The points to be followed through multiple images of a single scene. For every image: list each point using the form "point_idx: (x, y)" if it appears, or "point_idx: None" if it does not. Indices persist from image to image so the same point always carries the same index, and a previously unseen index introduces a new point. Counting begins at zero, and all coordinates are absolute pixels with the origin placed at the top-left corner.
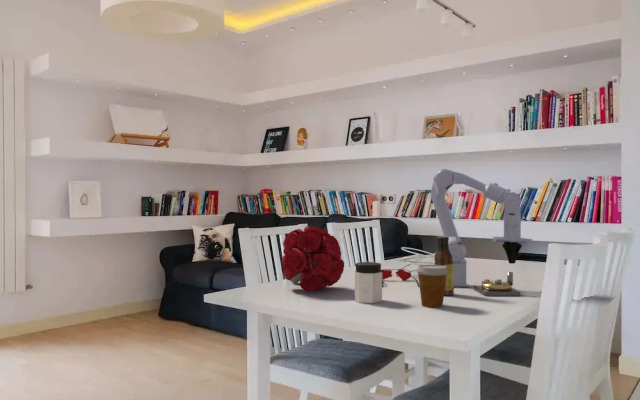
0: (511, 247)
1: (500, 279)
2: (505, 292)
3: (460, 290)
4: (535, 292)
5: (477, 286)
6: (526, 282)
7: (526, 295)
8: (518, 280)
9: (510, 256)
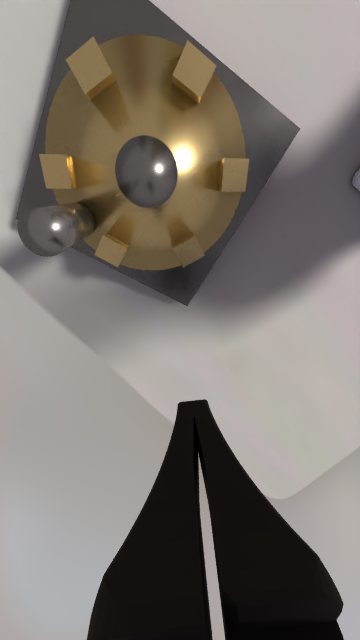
0: (149, 559)
1: (188, 263)
2: (40, 129)
3: (338, 2)
4: (88, 346)
5: (264, 116)
6: (246, 451)
7: (40, 261)
8: (284, 456)
9: (188, 445)
